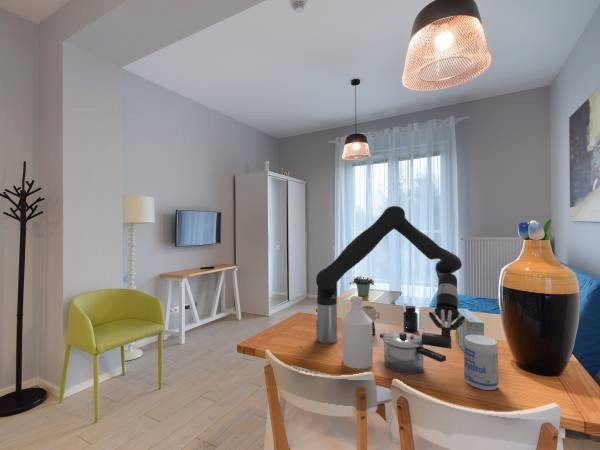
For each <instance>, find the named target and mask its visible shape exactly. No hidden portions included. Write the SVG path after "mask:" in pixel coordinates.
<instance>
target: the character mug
mask: <svg viewBox="0 0 600 450" xmlns="http://www.w3.org/2000/svg"><path fill="white" fill-rule="evenodd" d="M362 310H363V311H364V312H365V313H366V315H367V316H368V317H369V318H370V319H371V320H372V335H373V334H376V328H375V321H376V319H380V317H381V316H380V311H377V307H376V306H373V305H367V304H366V305H362Z"/></svg>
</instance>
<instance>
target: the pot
mask: <svg viewBox="0 0 600 450" xmlns="http://www.w3.org/2000/svg"><path fill="white" fill-rule="evenodd" d="M385 334H387V333H386V332H382V333H379V338H380V339H382V340H383V336H384V335H385ZM383 353H384V355H383V360H384V361H383V363H384V366H385V367H386V368H387V369H388V370H391V371H392V372H395V373H398V374H404V375H416V374H420V373H422V372H423V371H424V366H425V365H424V356H425V357H427V358H430V359H432V360H435V361H437V362H440V363H443V362H446V361H447V356H446V355H444V354H440V353H439V352H435V351H433V350H430V349H428V348H425V347H424V345H423V346H422V347H420V348H415V349H404V348H398V347H394V346H391V345H388V344H387V343H385V342H384V341H383Z"/></svg>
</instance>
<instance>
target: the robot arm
mask: <svg viewBox="0 0 600 450" xmlns="http://www.w3.org/2000/svg"><path fill="white" fill-rule="evenodd" d="M393 230H395V231H396V232H398V233H399V234H401V235H402V236H403V237H404V238H406V240H408V241H409V242H410V243H411V244H412V245H413V246H414V247H415V248H416V249H417V250H418V251H419V252H420V253H422V254H423V255H424V256H425V257H426V258H427V259H429V260H431V261H433V260H436V259H437V260H439V261H437V262H436V263H435V272H436V275H437V279H438V281H437V282H438V283H437V290H436V306H435V308H434V311H429V312H428V317H429V318H430V320H431V321H432V322H433V324H434V325H435V326H436V327H437V328H438V329H441V332H440V333H441V334H440V335H446V336H451V331H456V329H457V328H458V327H459V326H461V325H462V324H463V323H464V322H465V317H464V316H461V315H460V314H459V311H458V309H459V306H458V305H459V292H458V278H457V276H456V275H455V274H453V273H455V272H457V271H459V270H460V269H462V265H463V263H462V261H461V259H460V257H458V255H456V254H454V253H453V252H450V251H449V250H447V249H444V248H443V247H441V246H439V244H437V243H436V242H435V241H434V240H433V239H432V238H431V237H429V236H428V235H426V234H425V233H423V232H422V231H421V230H419V229H418V228H416V227H415V226H414V225H413V224H412V223H410V221H409V220H408V219H407V218H406V212H405V211H404V209H403V208H402V207H401V206H398V205H390V206H388V207H387V208H386V209H384V211H383V213H382V214H381V215H380V216H379V217H378V218H377V220H376V221H375V222H374V223H373V224H372V225H370V226H369V227H368V228H366V229H364V230H363V231H362V232H361V233H360V234H359V235H357V236H356V237H355V238H354V239H353V240H351V242H349V243H348V244H347V246H346V247H345V248H344V249H343V250H342V252H340V254H339V255H338V256H337V258H336V259H335V260H334V261H333V262H331V263H330V264H329V265H328V266H327V267H325V268H322V269H321V270H320V271H319V272H318V273H317V275H316V278H315V282H316V285H317V296H316V301H317V302H316V306H317V307H316V308H317V309H316V311H317V312H316V313H317V316H316V317H317V319H316V321H315V322H316V324H315V326H316V327H315V329H316V336H315V337H316V338H315V339H316V342H320V343H322V344H334V343H336V342H337V341H338V282H339V281H340V279H342V278H343V276H344V275H346V273H347V272H348V271H349V270H351V269H353V267H355V266H356V265H358V264H359V263H360V262H361V261H362V260H364V259H365V258H366V257H367V256H368V255H369V254H370V253H371V252H372V251H373V250H374V249H375V248H376V247H377V245H379V243H380V242H381V241H382V240H383V238H384V237H386V236H387V235H388V234H389V233H390V232H391V231H393ZM457 317H458V320H457V321H456V318H457ZM437 318H438V319H439V320H440V321H441V322H440V321H439V320H438V319H437ZM452 323H453V324H452Z"/></svg>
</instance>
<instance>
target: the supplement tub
mask: <svg viewBox="0 0 600 450" xmlns="http://www.w3.org/2000/svg"><path fill="white" fill-rule="evenodd" d="M463 376H464V381H465V382H466V383H467V384H468V385H469V386H471V387H474V388H475V387H476V389H478V388H479V390H484V391H494V390H496V389H498V387H499V346H498V341H497V340H496V339H494V338H492V337H490V336H486V335H484V336H482V335H466V336H465V340H464V351H463Z"/></svg>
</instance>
